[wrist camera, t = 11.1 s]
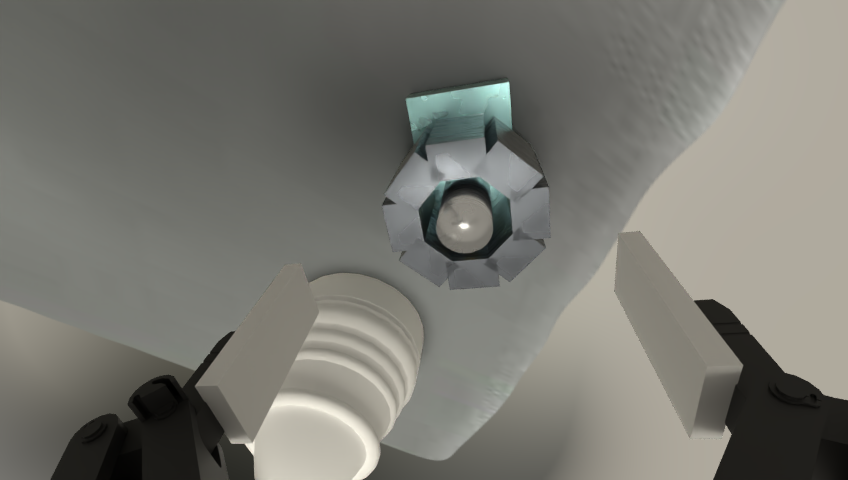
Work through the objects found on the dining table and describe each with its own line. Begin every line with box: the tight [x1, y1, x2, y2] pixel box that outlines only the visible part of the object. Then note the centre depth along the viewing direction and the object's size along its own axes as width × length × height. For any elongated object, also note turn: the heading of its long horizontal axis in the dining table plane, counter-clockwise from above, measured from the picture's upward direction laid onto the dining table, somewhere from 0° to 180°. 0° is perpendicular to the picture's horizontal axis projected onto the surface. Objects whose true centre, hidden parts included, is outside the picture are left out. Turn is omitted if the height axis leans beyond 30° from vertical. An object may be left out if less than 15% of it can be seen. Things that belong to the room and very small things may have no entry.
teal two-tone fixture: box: [406, 78, 512, 253], centre depth 25 cm, size 12×6×9 cm, turn 10°
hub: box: [382, 113, 550, 290], centre depth 25 cm, size 9×9×6 cm
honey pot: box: [245, 273, 424, 480], centre depth 30 cm, size 13×13×18 cm
